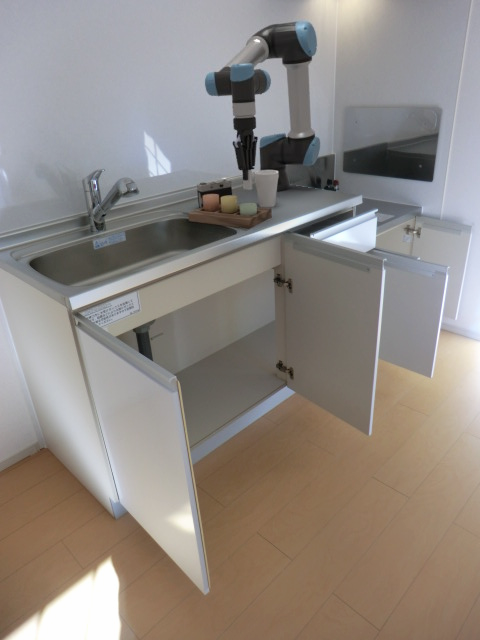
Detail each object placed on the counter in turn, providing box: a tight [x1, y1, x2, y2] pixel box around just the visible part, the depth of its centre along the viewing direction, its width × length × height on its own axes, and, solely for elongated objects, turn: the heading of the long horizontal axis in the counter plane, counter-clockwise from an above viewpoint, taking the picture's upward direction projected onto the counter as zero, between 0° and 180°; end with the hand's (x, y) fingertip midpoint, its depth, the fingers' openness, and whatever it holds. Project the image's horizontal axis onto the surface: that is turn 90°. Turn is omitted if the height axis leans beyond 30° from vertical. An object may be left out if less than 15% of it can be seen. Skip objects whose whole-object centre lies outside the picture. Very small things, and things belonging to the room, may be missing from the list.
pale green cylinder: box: [239, 202, 258, 216], centre depth 173 cm, size 6×6×5 cm
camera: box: [196, 178, 233, 209], centre depth 197 cm, size 14×8×10 cm, turn 120°
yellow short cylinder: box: [221, 194, 239, 213], centre depth 176 cm, size 6×6×5 cm
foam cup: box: [253, 170, 279, 208], centre depth 191 cm, size 10×9×13 cm
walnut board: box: [188, 204, 273, 229], centre depth 177 cm, size 16×26×3 cm, turn 58°
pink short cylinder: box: [203, 194, 220, 211], centre depth 179 cm, size 6×6×5 cm
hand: (247, 189), depth 169 cm, fingers closed
